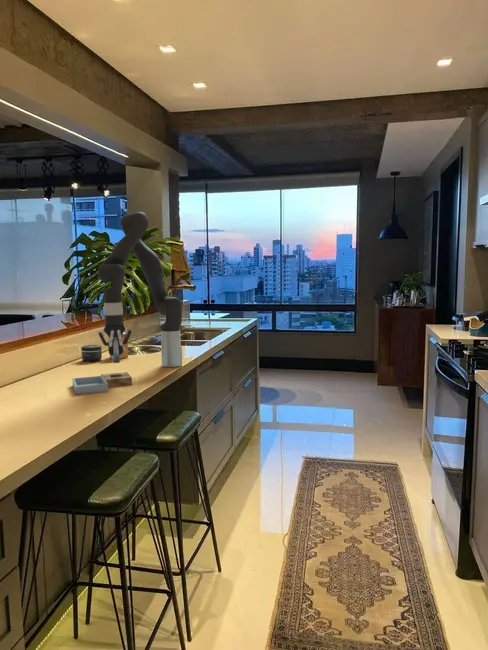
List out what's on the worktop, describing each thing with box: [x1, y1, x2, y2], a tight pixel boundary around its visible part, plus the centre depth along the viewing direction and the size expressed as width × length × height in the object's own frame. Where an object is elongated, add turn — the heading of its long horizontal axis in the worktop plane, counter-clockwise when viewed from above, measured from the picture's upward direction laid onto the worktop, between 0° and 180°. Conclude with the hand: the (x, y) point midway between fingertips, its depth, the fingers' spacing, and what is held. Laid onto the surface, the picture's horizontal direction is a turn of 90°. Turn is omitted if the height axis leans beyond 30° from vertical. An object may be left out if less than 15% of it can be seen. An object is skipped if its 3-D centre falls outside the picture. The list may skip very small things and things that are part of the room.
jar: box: [80, 344, 103, 363], centre depth 257 cm, size 10×10×8 cm
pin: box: [111, 338, 121, 364], centre depth 207 cm, size 3×3×10 cm
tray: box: [72, 375, 109, 396], centre depth 199 cm, size 12×16×3 cm
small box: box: [109, 332, 129, 360], centre depth 264 cm, size 8×6×13 cm
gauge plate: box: [100, 371, 133, 388], centre depth 208 cm, size 11×11×3 cm
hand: (115, 354), depth 207 cm, fingers closed on pin, 3 cm apart
